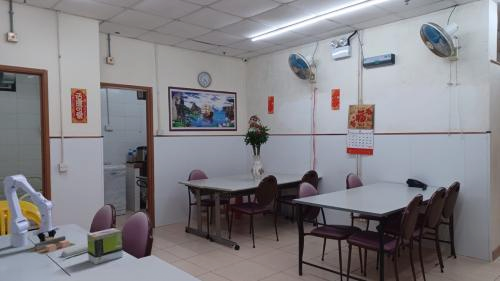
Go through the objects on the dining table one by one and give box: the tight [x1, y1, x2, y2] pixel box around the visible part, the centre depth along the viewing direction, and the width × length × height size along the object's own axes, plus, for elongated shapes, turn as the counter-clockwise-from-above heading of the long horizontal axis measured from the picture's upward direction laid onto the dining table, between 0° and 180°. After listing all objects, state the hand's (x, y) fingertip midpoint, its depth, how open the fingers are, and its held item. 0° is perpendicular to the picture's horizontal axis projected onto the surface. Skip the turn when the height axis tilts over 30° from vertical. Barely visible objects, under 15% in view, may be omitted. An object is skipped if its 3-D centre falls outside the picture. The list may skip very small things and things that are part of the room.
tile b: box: [59, 239, 70, 249], centre depth 210 cm, size 4×4×3 cm
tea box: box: [86, 227, 124, 265], centre depth 192 cm, size 15×10×15 cm, turn 134°
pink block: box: [45, 244, 57, 253], centre depth 203 cm, size 4×4×3 cm
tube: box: [60, 242, 88, 260], centre depth 202 cm, size 5×5×25 cm
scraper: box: [34, 235, 66, 251], centre depth 211 cm, size 9×17×5 cm, turn 149°
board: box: [25, 242, 77, 255], centre depth 209 cm, size 18×20×2 cm
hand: (46, 244), depth 212 cm, fingers closed on scraper, 4 cm apart
